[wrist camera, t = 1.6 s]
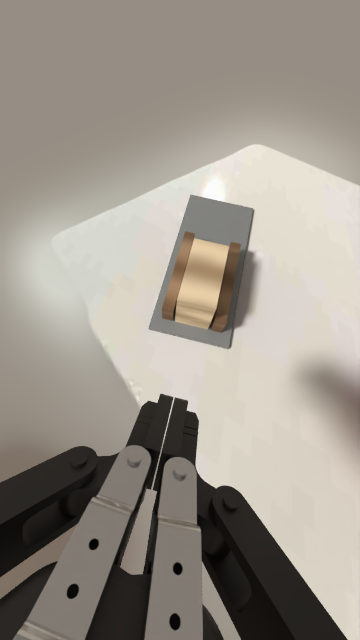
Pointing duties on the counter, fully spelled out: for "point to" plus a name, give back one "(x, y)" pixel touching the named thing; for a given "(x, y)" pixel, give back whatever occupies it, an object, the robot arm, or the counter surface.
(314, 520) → the counter surface
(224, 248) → the oak block
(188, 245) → the chute rails
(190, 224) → the chute board
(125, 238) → the counter surface
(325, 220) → the counter surface
